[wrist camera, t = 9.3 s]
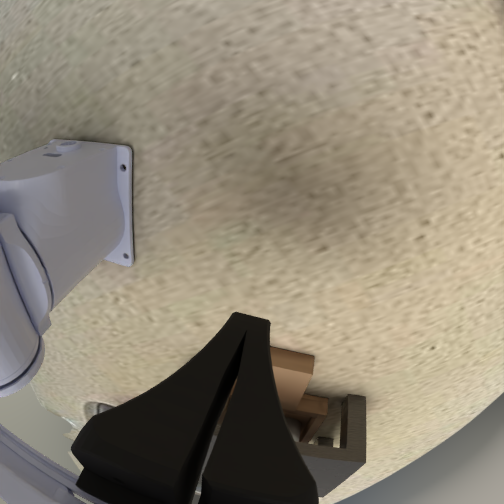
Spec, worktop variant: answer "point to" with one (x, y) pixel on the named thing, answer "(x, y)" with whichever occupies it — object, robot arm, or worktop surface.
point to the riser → (332, 448)
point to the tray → (295, 394)
